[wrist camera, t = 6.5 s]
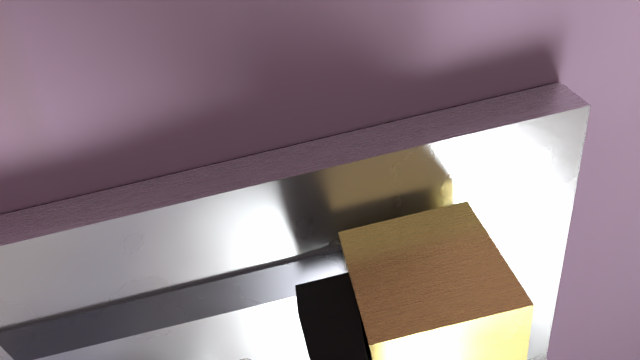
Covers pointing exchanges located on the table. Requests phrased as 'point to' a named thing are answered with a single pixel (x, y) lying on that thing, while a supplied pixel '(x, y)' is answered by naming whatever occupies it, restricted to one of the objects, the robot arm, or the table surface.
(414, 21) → the table surface
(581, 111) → the panel
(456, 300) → the slider brass
